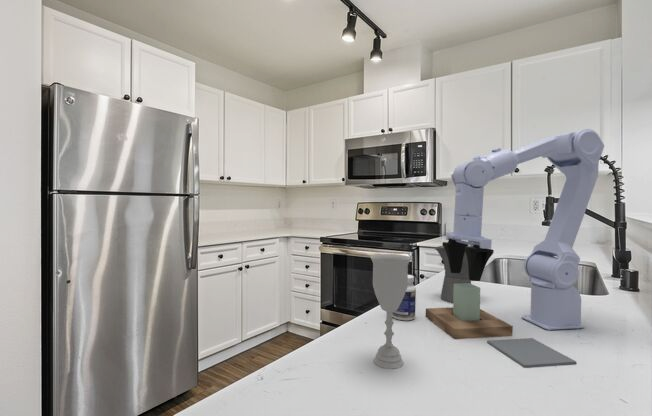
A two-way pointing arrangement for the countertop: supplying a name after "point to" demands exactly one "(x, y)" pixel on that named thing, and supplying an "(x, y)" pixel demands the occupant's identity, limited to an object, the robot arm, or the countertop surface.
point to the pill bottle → (407, 303)
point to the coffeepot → (452, 275)
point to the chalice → (389, 300)
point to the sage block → (466, 302)
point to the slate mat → (530, 352)
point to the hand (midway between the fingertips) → (464, 276)
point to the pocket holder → (468, 324)
